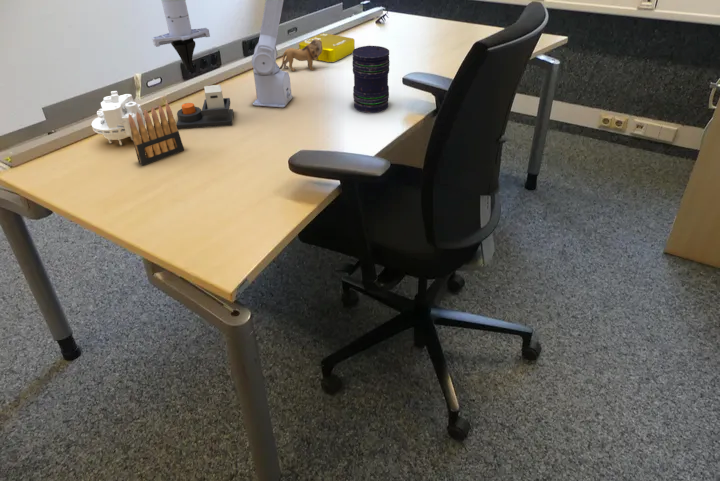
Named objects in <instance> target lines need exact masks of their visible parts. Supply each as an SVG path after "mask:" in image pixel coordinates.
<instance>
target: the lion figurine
mask: <svg viewBox="0 0 720 481" xmlns="http://www.w3.org/2000/svg"><path fill="white" fill-rule="evenodd" d="M322 49H323V48H322V41H320V40H318V39H314V40H313V41H311V43H310V44H308V45H307V46H305V47H304V48H303V49H299V48H294V47H290V48H287V49H285V50H284V52H283V55H282V62H281V65H280V66H279V68H280V70H282V69H288V68H289V69H290V70H291V72H296V69H295V68H293V62H294V59H295V60H296V61H299V62H306V63H307V67H308V69H309V70H310V71H315V67H313V65H314V64H313V63H314V61H317V60H316V59H317V58H318V56H319V55H320V54H321V53H322ZM287 64H288V65H287Z"/></svg>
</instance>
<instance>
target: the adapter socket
mask: <svg viewBox="0 0 720 481" xmlns="http://www.w3.org/2000/svg"><path fill="white" fill-rule="evenodd" d="M223 100H224V106H225V108H218V109H208V107H207V102H206V98H205V99H204V101H203V104H202V108H201V110H202V114H203V116H209V115H223V114H229V109H231V98H230V97H223Z"/></svg>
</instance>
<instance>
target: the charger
mask: <svg viewBox="0 0 720 481" xmlns="http://www.w3.org/2000/svg"><path fill="white" fill-rule="evenodd" d="M203 88H204V97H205V99H206V102H207V107H208V109H218V108H225V106H224V100H223V98H224V95H223V90H222V85H221V84H214V85H212V84H211V85H204V86H203Z"/></svg>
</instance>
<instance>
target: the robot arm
mask: <svg viewBox="0 0 720 481" xmlns="http://www.w3.org/2000/svg"><path fill="white" fill-rule="evenodd" d="M284 1H285V0H265V2H264V8H263V14H262V19H261V20H262V21H261V26H260V32H259V39H258V42H257V44H256V45H255V47H254V49H253V56H252V57H251V66H252V68H253V69H252V72H253V79H254V84H255V85H254V86H255V93H256V99H255V100H254V101H253V103H252V106H256V107H267V108H268V107H269V108H270V107H271V108H286V106H287V105H288V104H289V103H290V101H291V100H292V99H293V97H294V96H293V95H292V84H291V77H290V73H289V72H288V71H286V70H282V69H280V65H279V64H278V63H277V58H278V50H277V39H278V33H279V29H280V22H281V16H282V11H283V6H284ZM161 4H162V8H163V12H164V17H165V22H166V25H167V29H168V33H167V32H166V33H164V34H161V35H157V36H153V37H151V40H152V43H153V45H154V47H157V48H158V47H161V46H163V45H164V46H165V45H169V44H170V45H171V46H172V47H173V48H174V50H175V52H176V53H177V54H178V56H179V58H180V60H181V62H182V64H183V66H184V69H185V70H187V71H188V70H193V58H194V52H195V48H196V41H195V40H196V39H202V38H210V37H211V34H210V29H208V27H201V28H192V25H191V21H190V16H189V11H188V6H187V2H186V0H161Z"/></svg>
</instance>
